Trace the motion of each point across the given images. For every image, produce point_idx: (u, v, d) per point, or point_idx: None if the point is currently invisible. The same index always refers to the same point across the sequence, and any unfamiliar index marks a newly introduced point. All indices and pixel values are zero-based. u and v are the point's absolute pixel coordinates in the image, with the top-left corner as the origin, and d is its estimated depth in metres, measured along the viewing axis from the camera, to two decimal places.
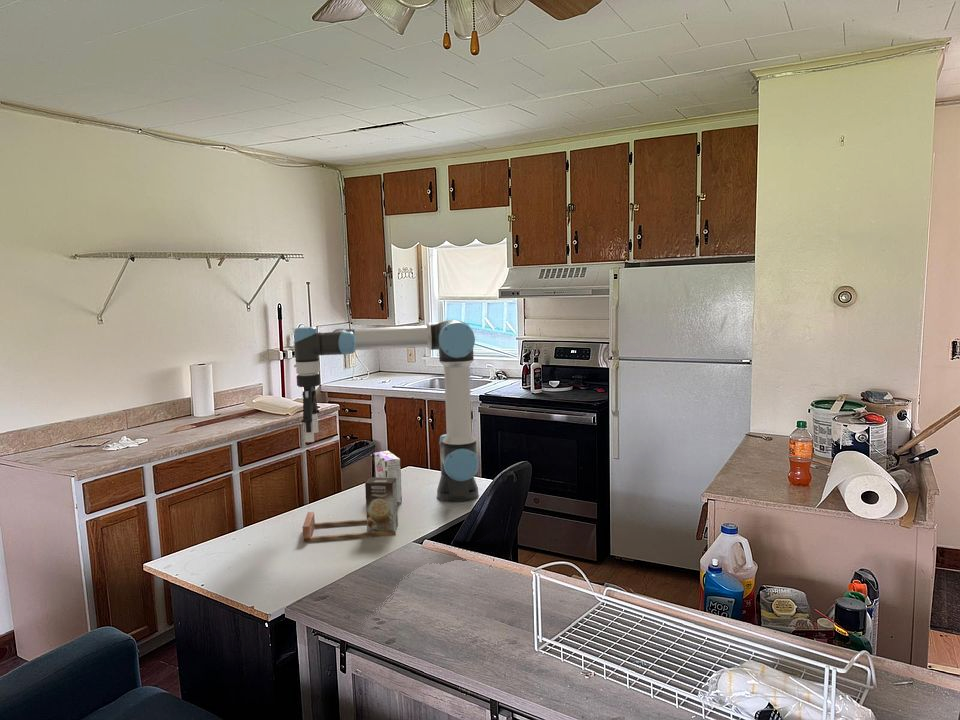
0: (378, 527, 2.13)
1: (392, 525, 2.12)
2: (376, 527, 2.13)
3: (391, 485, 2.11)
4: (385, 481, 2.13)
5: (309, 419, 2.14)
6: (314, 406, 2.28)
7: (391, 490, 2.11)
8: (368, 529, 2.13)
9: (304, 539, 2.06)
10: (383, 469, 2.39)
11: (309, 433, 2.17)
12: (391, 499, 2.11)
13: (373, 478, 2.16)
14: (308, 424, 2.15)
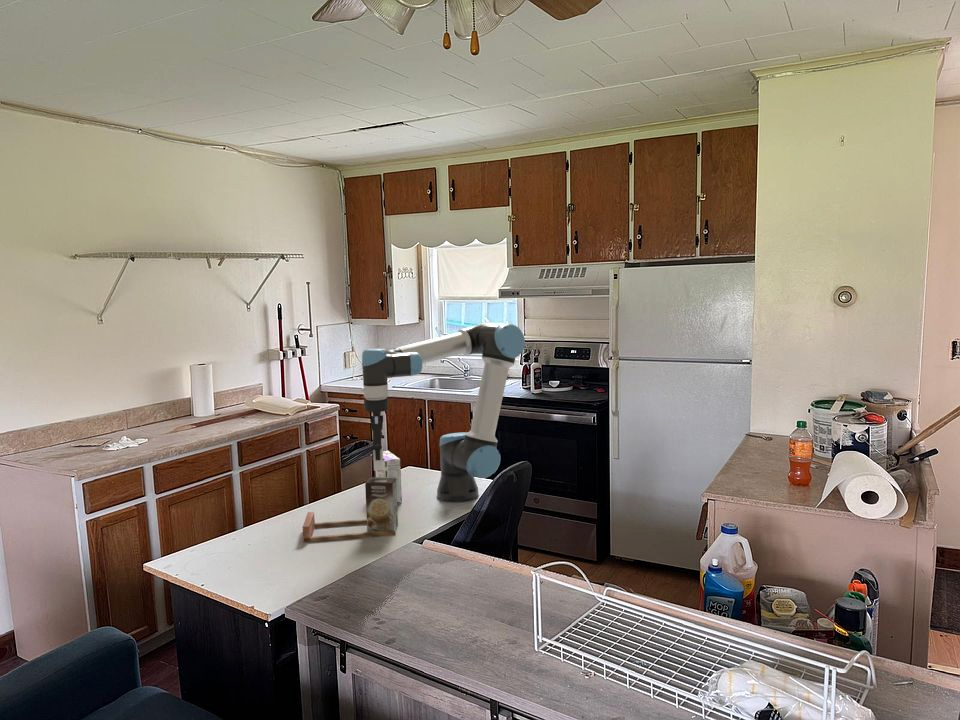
0: (378, 527, 2.13)
1: (392, 525, 2.12)
2: (376, 527, 2.13)
3: (391, 485, 2.11)
4: (385, 481, 2.13)
5: (379, 446, 2.03)
6: None
7: (391, 490, 2.11)
8: (368, 529, 2.13)
9: (304, 539, 2.06)
10: (383, 469, 2.39)
11: (378, 461, 2.06)
12: (391, 499, 2.11)
13: (373, 478, 2.16)
14: (378, 452, 2.05)
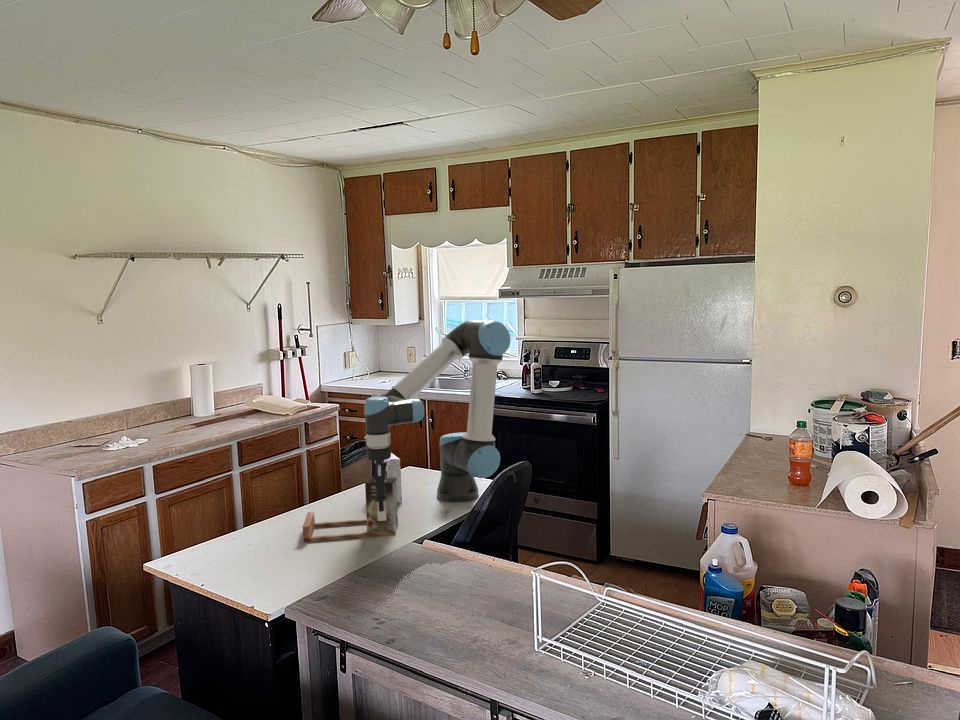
0: (378, 527, 2.13)
1: (392, 525, 2.12)
2: (375, 527, 2.13)
3: (391, 485, 2.11)
4: (385, 481, 2.13)
5: (383, 498, 2.08)
6: None
7: (391, 490, 2.11)
8: (368, 529, 2.13)
9: (304, 539, 2.06)
10: None
11: (382, 512, 2.11)
12: (391, 499, 2.11)
13: (373, 478, 2.16)
14: (381, 503, 2.09)
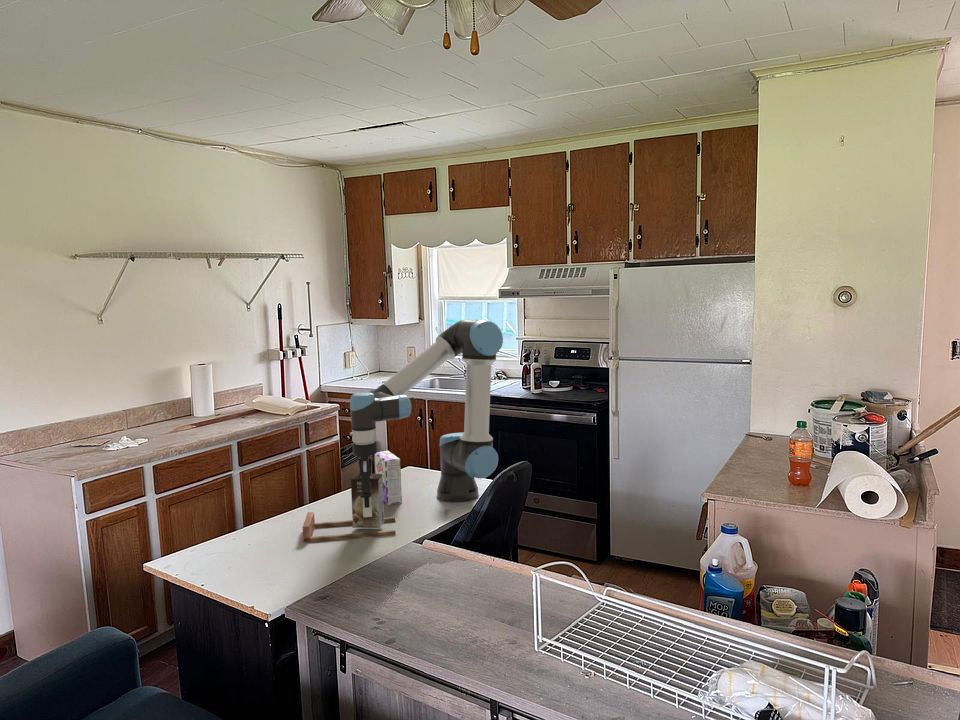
0: (364, 523, 2.12)
1: (378, 521, 2.11)
2: (361, 524, 2.12)
3: (377, 481, 2.10)
4: (371, 477, 2.12)
5: (368, 495, 2.07)
6: None
7: (377, 486, 2.10)
8: (354, 525, 2.12)
9: (304, 539, 2.06)
10: (383, 469, 2.39)
11: (367, 508, 2.10)
12: (377, 495, 2.10)
13: (359, 474, 2.15)
14: (367, 499, 2.09)
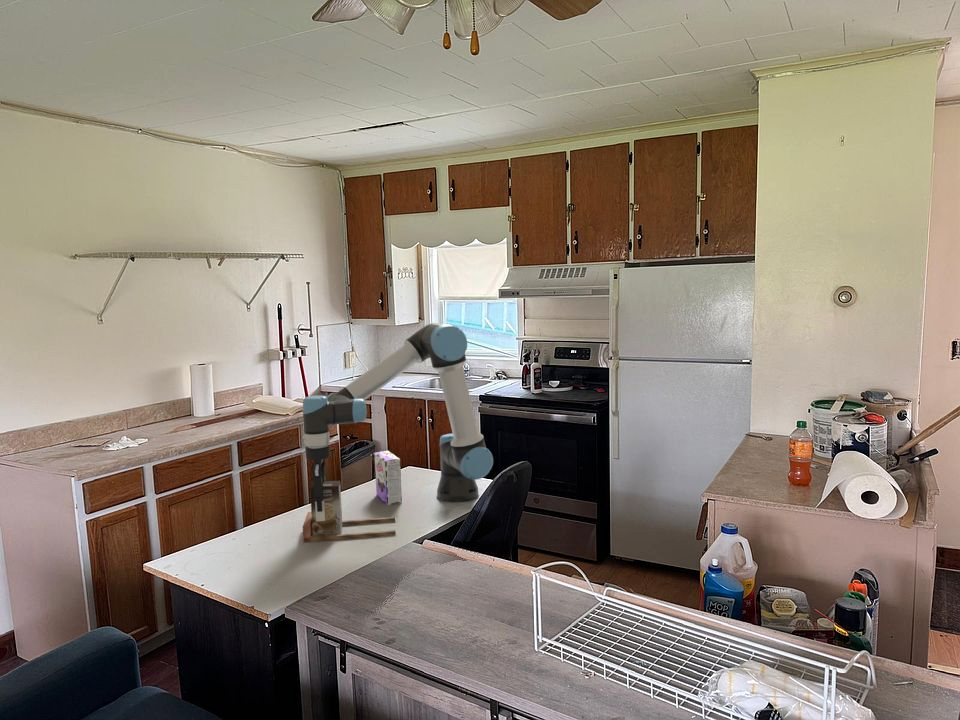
0: (324, 531, 2.10)
1: (339, 528, 2.11)
2: (322, 532, 2.10)
3: (337, 488, 2.09)
4: (330, 484, 2.11)
5: (320, 499, 2.05)
6: None
7: (337, 493, 2.10)
8: (313, 534, 2.10)
9: (304, 539, 2.06)
10: (383, 469, 2.39)
11: (320, 512, 2.09)
12: (337, 502, 2.10)
13: None
14: (319, 503, 2.07)
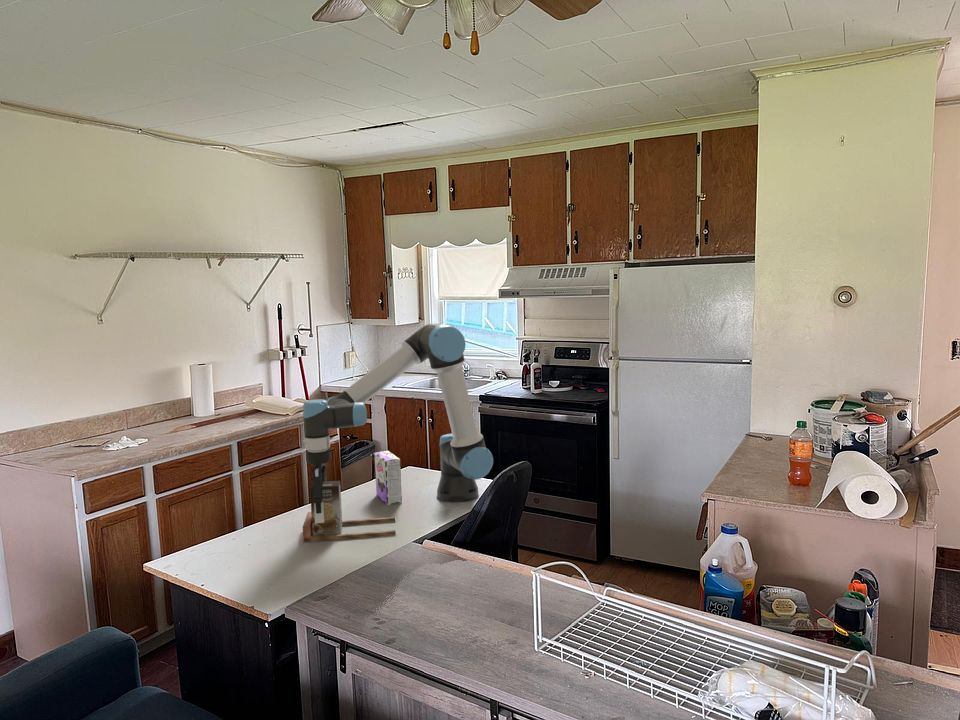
0: (324, 531, 2.10)
1: (339, 528, 2.11)
2: (321, 532, 2.10)
3: (337, 488, 2.09)
4: (330, 484, 2.11)
5: (319, 500, 2.02)
6: (324, 481, 2.17)
7: (337, 493, 2.10)
8: (313, 534, 2.10)
9: (304, 539, 2.06)
10: (383, 469, 2.39)
11: (319, 514, 2.05)
12: (337, 502, 2.10)
13: None
14: (318, 505, 2.04)
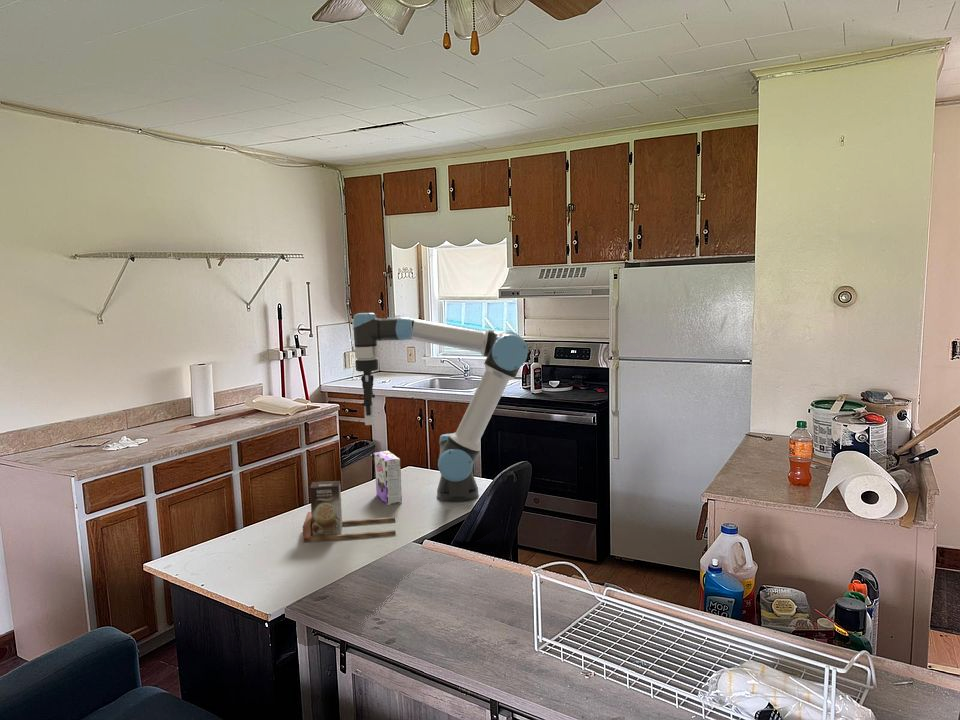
0: (324, 531, 2.10)
1: (339, 528, 2.11)
2: (321, 532, 2.10)
3: (337, 488, 2.09)
4: (330, 484, 2.11)
5: (370, 402, 2.19)
6: (371, 391, 2.34)
7: (337, 493, 2.10)
8: (313, 534, 2.10)
9: (304, 539, 2.06)
10: (383, 469, 2.39)
11: (369, 416, 2.22)
12: (337, 502, 2.10)
13: (316, 482, 2.13)
14: (368, 407, 2.21)
